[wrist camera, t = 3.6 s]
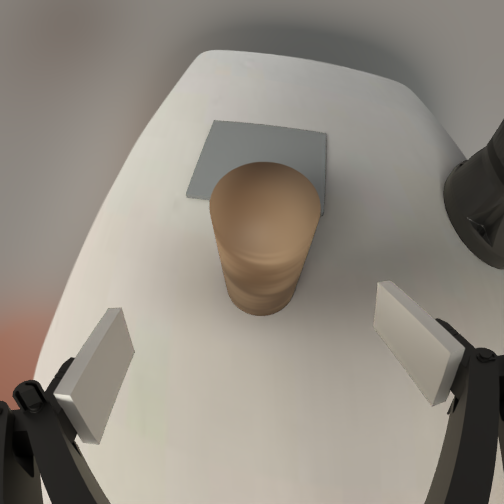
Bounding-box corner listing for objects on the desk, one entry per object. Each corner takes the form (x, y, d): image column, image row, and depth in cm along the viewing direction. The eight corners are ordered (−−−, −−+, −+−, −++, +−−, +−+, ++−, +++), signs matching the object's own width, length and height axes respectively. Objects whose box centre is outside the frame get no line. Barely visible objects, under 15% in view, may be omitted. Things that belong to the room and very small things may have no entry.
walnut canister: (298, 257, 28) (322, 169, 18) (290, 320, 26) (317, 260, 15) (233, 248, 29) (223, 156, 18) (220, 309, 26) (197, 243, 15)
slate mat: (325, 136, 36) (326, 133, 35) (322, 215, 30) (323, 212, 30) (214, 123, 37) (214, 120, 36) (186, 197, 31) (185, 193, 31)
